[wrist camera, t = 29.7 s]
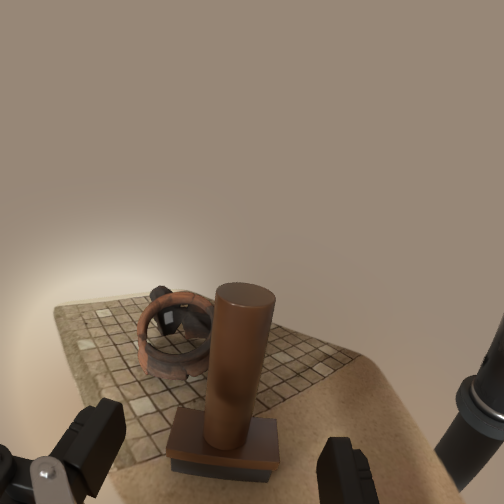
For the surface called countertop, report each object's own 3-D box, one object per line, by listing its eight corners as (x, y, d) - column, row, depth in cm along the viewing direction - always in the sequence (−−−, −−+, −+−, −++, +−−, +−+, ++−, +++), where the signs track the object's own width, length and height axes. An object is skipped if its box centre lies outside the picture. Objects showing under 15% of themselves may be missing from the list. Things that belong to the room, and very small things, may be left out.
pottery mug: (256, 367, 30) (254, 326, 24) (182, 422, 26) (158, 394, 20) (189, 299, 37) (176, 250, 31) (125, 340, 32) (97, 296, 27)
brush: (268, 444, 20) (309, 286, 16) (270, 485, 16) (325, 321, 12) (177, 432, 19) (183, 269, 16) (167, 472, 16) (163, 299, 12)
